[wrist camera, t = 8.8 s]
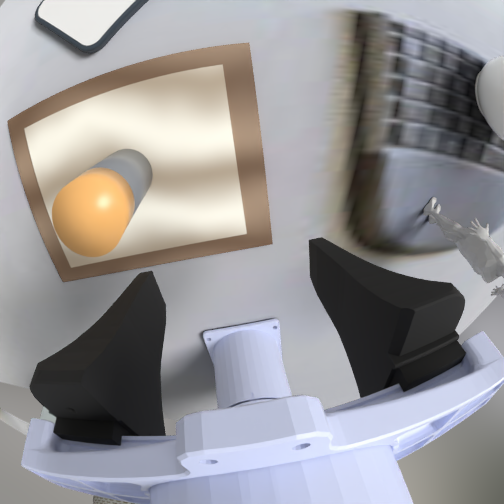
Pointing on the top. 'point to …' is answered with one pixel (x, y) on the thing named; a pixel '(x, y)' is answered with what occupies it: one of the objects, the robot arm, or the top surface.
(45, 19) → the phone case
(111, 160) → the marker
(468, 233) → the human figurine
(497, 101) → the lidded jar
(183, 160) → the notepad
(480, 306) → the top surface
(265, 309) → the top surface
